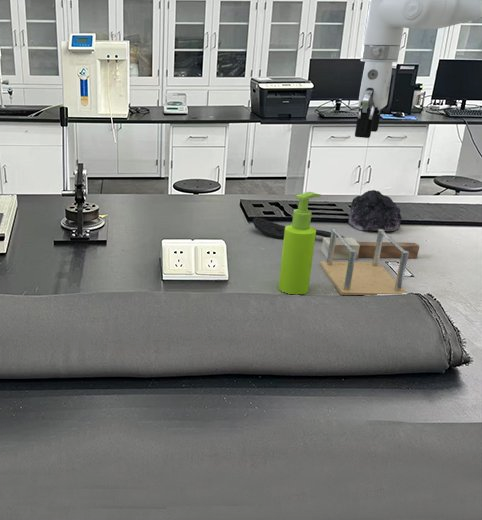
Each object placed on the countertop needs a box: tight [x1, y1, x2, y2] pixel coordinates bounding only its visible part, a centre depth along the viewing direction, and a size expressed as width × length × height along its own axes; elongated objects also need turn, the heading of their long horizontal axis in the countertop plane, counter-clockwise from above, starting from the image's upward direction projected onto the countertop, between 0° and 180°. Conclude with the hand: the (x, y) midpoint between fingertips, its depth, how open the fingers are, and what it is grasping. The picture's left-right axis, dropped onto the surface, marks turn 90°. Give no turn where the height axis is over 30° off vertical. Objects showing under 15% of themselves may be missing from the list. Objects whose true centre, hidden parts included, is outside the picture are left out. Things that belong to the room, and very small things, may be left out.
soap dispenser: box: [277, 191, 322, 295], centre depth 105 cm, size 6×7×20 cm
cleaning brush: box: [320, 236, 420, 260], centre depth 125 cm, size 21×5×4 cm, turn 87°
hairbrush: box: [252, 214, 346, 240], centre depth 137 cm, size 8×4×25 cm
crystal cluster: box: [348, 189, 403, 232], centre depth 144 cm, size 13×14×10 cm
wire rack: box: [319, 228, 409, 296], centre depth 111 cm, size 13×16×9 cm
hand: (366, 134), depth 122 cm, fingers open, 9 cm apart
